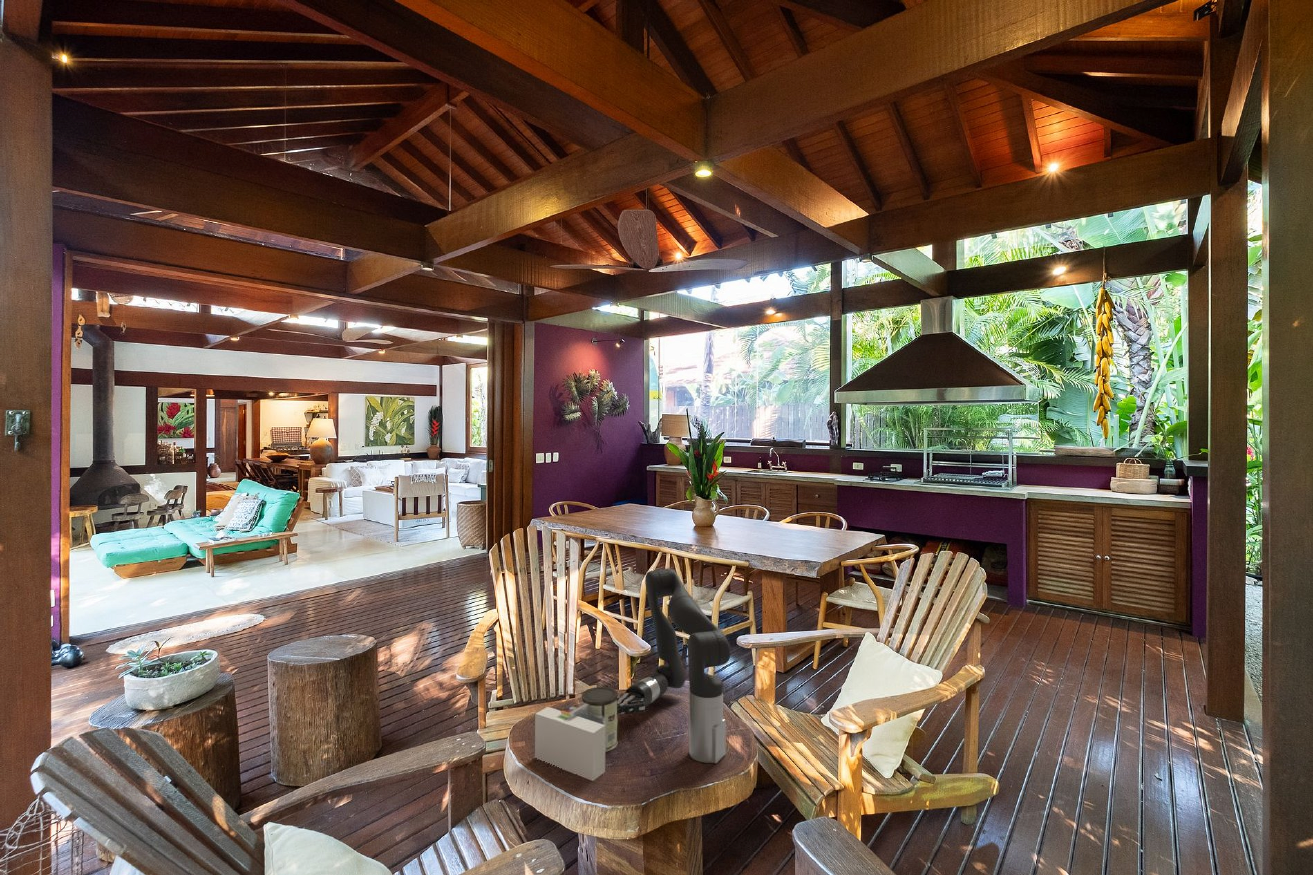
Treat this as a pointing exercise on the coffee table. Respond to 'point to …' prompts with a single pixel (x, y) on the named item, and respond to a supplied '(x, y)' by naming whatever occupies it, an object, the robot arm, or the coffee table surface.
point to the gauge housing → (570, 743)
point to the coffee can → (604, 710)
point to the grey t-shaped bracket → (586, 715)
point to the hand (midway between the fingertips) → (610, 713)
